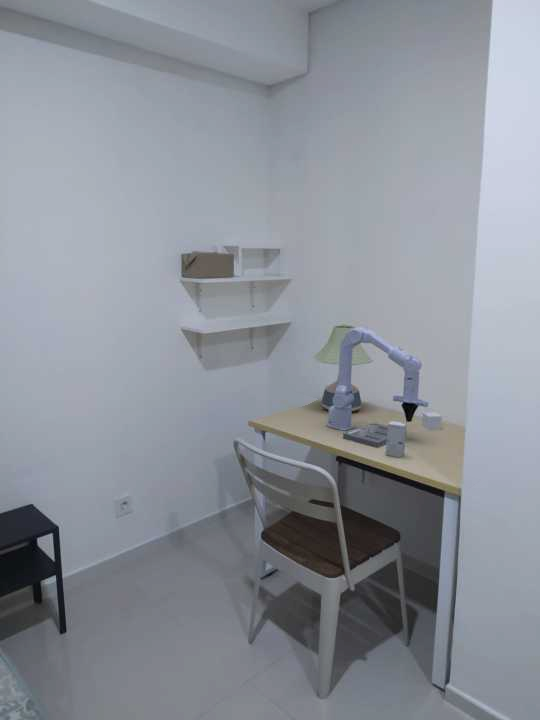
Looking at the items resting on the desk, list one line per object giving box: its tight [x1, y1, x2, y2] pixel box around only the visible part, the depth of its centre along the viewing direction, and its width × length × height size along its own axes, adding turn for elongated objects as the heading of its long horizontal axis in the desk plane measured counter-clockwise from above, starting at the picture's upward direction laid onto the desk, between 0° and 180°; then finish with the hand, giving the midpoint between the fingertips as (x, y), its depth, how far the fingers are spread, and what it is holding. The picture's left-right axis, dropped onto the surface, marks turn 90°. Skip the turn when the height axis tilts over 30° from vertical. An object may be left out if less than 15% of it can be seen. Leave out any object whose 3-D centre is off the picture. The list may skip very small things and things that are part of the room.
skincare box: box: [385, 420, 408, 458], centre depth 203 cm, size 6×4×12 cm
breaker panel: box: [342, 422, 408, 449], centre depth 224 cm, size 16×22×5 cm
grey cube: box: [421, 412, 443, 431], centre depth 239 cm, size 6×6×6 cm
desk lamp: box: [313, 322, 374, 413], centre depth 263 cm, size 26×28×42 cm
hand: (409, 421), depth 221 cm, fingers closed
